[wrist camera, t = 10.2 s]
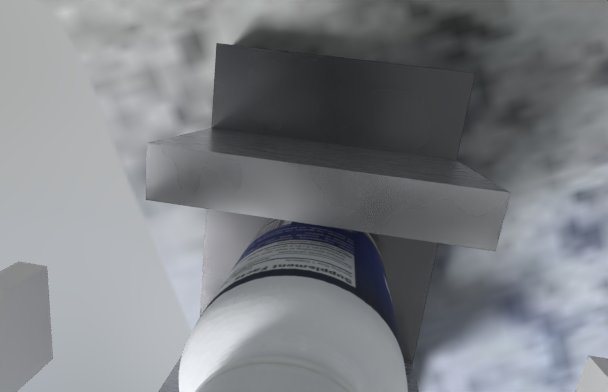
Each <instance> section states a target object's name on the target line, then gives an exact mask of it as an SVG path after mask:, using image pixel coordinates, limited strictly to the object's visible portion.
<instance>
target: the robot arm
mask: <svg viewBox="0 0 608 392" xmlns="http://www.w3.org/2000/svg"><path fill="white" fill-rule="evenodd" d="M52 359H53V352H52V337H51V321H50V305H49V289H48V273H47V266H42V265H36V264H30V263H24V262H17V263H15V264H13V265H11V266H10V267H8V268H6V269H4V270H2V271H0V392H17V391H18V390H19V389H20V388H21V387H22V386H24V385H25V384H26V382H28V381H29V380H30V379H31V378H32V377H33V376H34V375H36V374H37V373H38V372H39V371H40V370H41V369H42V368H43V367H44V366H45V365H46V364H48V363H49V362H50V361H51V360H52ZM575 392H608V359H606V358H600V357H594V356H588V358H587V361H586V364H585V366H584V369H583V372H582V375H581V377H580V380H579V383H578V386H577V388H576V391H575Z"/></svg>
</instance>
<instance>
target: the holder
mask: <svg viewBox="0 0 608 392" xmlns="http://www.w3.org/2000/svg"><path fill="white" fill-rule="evenodd" d="M474 76H475V73H469V72H460V71H452V70H443V69H434V68H426V67H417V66H409V65H400V64H391V63H383V62H374V61H366V60H357V59H348V58H340V57H331V56H322V55H314V54H305V53H297V52H288V51H279V50H271V49H262V48H253V47H245V46H236V45H228V44H219V43H217V46H216V62H215V79H214V95H213V112H212V128H210V129H205V130H201V131H197V132H192V133H188V134H184V135H180V136H175V137H171V138H167V139H162V140H158V141H154V142H150V143H147V167H146V200H151V201H158V202H165V203H171V204H178V205H185V206H192V207H198V208H205V209H207V211H206V228H205V244H204V261H203V277H202V294H201V310H200V317H201V315H202V313H203V312H204V310H205V309H206V307H207V306H208V304H209V303H210V302H211V300H212V299H213V297H214V296H215V294H216V293H217V291H218V290H219V289H220V287H221V286H222V284H223V283H224V281H225V280H226V278H227V276H228V275H229V274H230V272H231V270H232V269H233V268H234V266H235V265H236V263H237V262H238V260H239V259H240V257H241V256H242V254H243V253H244V251H245V249H246V248H247V247H248V245H249V244H250V242H251V241H252V239H253V238H254V237H255V235H256V234H257V233H258V232H259V231H260V230H261V229H262V228H263V227H264V226H265V225H266V224H267V223H268V222H269V221H271V220H272V219H280V220H287V221H293V222H300V223H307V224H314V225H320V226H327V227H334V228H341V229H347V230H354V231H361V232H368V233H369V234H370V236H371V237H372V239H373V240H374V242H375V244H376V246H377V248H378V250H379V252H380V255H381V258H382V261H383V265H384V269H385V273H386V278H387V283H388V288H389V292H390V296H391V300H392V306H393V310H394V315H395V320H396V325H397V330H398V334H399V339H400V344H401V348H402V353H403V359H404V365H405V371H406V377H407V387H408V392H419V391H418V387H417V383H416V379H415V375H414V370H413V366H412V363H413V358H414V353H415V349H416V344H417V339H418V335H419V330H420V326H421V321H422V316H423V312H424V307H425V302H426V298H427V293H428V289H429V284H430V279H431V275H432V270H433V266H434V261H435V256H436V252H437V247H438V243H442V244H449V245H456V246H463V247H469V248H476V249H483V250H490V251H496V247H497V243H498V239H499V235H500V231H501V227H502V223H503V220H504V216H505V212H506V208H507V204H508V200H509V196H510V192H508V191H507V190H505V189H503V188H501V187H500V186H498V185H496V184H495V183H493V182H491V181H490V180H488V179H486V178H485V177H483V176H481V175H480V174H478V173H476V172H475V171H473V170H471V169H470V168H468V167H466V166H465V165H463V164H461V163H460V162H458V161H456V159H457V155H458V150H459V145H460V141H461V136H462V131H463V127H464V122H465V118H466V113H467V108H468V104H469V99H470V94H471V90H472V85H473V81H474ZM181 358H182V356H181V357H180V359H179V361H178V362H177V364H176V365H175V367H174V368H173V370H172V371H171V373H170V375H169V376H168V378H167V379H166V381H165V382H164V384H163V386H162V387H161V389H160V390H159V392H179V368H180V361H181Z"/></svg>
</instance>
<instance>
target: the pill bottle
mask: <svg viewBox="0 0 608 392" xmlns="http://www.w3.org/2000/svg"><path fill="white" fill-rule="evenodd" d="M179 392H408V387H407V377H406V371H405V365H404V359H403V353H402V348H401V344H400V339H399V334H398V330H397V325H396V320H395V315H394V310H393V306H392V300H391V296H390V292H389V288H388V283H387V278H386V273H385V269H384V265H383V261H382V258H381V255H380V252H379V250H378V248H377V246H376V244H375V242H374V240H373V239H372V237H371V236H370V234H369V233H368V232H361V231H354V230H347V229H341V228H334V227H327V226H320V225H314V224H307V223H300V222H293V221H287V220H280V219H272V220H271V221H269V222H268V223H267V224H266V225H265V226H264V227H263V228H262V229H261V230H260V231H259V232H258V233H257V234H256V235H255V237H254V238H253V239H252V241H251V242H250V244H249V245H248V247H247V248H246V249H245V251H244V253H243V254H242V256H241V257H240V259H239V260H238V262H237V263H236V265H235V266H234V268H233V269H232V270H231V272H230V274H229V275H228V276H227V278H226V280H225V281H224V283H223V284H222V286H221V287H220V289H219V290H218V291H217V293H216V294H215V296H214V297H213V299H212V300H211V302H210V303H209V304H208V306H207V307H206V309H205V310H204V312H203V313H202V315H201V317H200V318H199V320H198V321H197V323H196V325H195V327H194V328H193V330H192V332H191V334H190V335H189V337H188V340H187V342H186V345H185V348H184V350H183V354H182V358H181V361H180V368H179Z"/></svg>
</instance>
